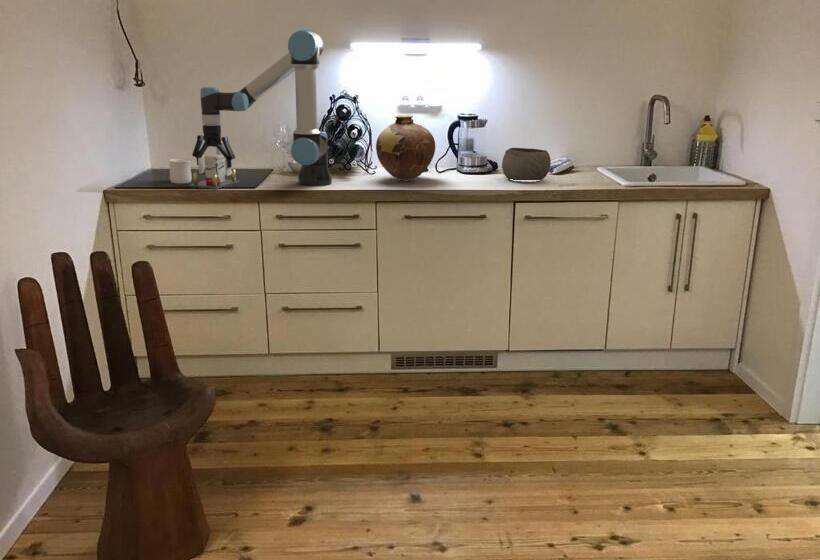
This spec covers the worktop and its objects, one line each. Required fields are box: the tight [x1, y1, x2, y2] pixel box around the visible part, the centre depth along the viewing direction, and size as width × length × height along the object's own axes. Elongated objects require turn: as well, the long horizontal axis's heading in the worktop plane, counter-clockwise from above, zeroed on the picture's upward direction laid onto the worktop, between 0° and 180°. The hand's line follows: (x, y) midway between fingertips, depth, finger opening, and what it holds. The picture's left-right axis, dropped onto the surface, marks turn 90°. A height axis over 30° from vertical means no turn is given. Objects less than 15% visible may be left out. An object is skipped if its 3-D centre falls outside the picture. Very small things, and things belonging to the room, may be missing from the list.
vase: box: [375, 114, 436, 181], centre depth 321 cm, size 28×27×30 cm
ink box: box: [203, 153, 226, 184], centre depth 303 cm, size 9×5×12 cm, turn 165°
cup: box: [168, 157, 193, 184], centre depth 309 cm, size 10×10×10 cm
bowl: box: [501, 147, 552, 181], centre depth 331 cm, size 23×23×15 cm
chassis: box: [188, 168, 241, 190], centre depth 304 cm, size 14×18×6 cm
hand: (214, 174), depth 303 cm, fingers open, 13 cm apart
